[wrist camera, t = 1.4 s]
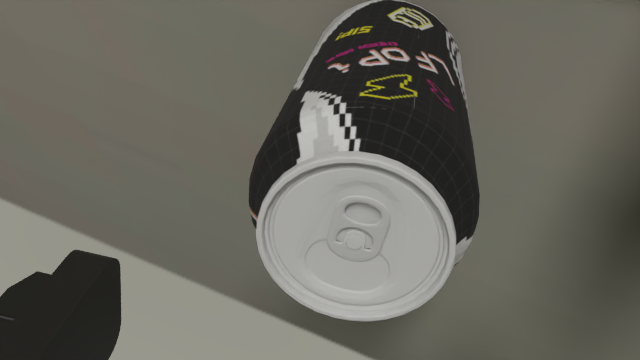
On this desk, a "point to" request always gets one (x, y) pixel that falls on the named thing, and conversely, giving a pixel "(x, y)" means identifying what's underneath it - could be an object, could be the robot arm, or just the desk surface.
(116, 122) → the desk surface
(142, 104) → the desk surface
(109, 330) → the robot arm
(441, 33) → the beverage can
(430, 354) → the desk surface
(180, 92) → the desk surface
